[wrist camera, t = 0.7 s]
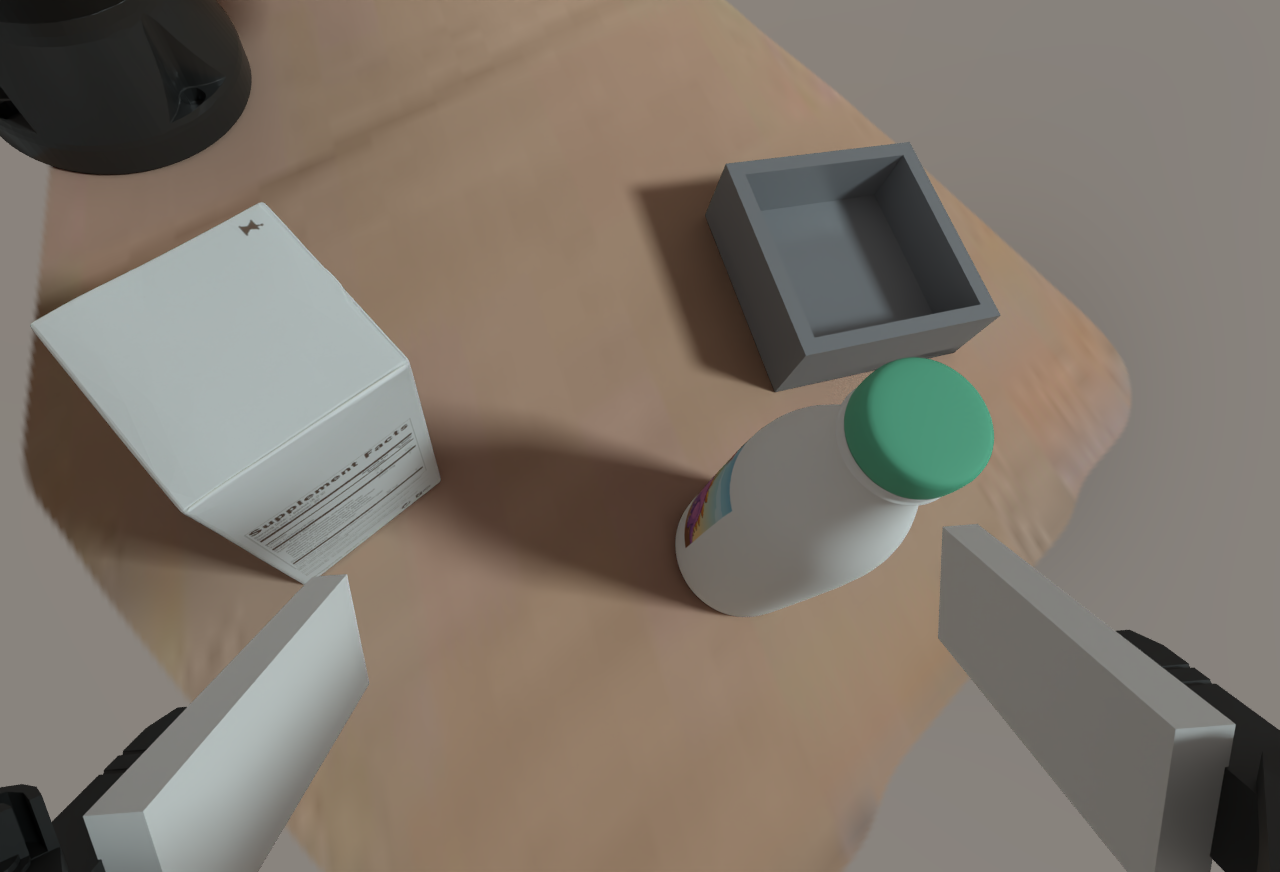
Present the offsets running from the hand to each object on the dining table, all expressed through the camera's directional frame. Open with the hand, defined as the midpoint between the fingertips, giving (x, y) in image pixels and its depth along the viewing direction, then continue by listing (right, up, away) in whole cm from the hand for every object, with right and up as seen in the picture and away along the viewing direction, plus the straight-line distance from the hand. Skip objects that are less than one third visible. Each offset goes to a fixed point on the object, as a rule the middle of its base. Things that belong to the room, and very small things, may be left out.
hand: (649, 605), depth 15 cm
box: (+13, +14, +33) cm, 38 cm away
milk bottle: (+5, -3, +25) cm, 26 cm away
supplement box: (-17, +2, +22) cm, 28 cm away
